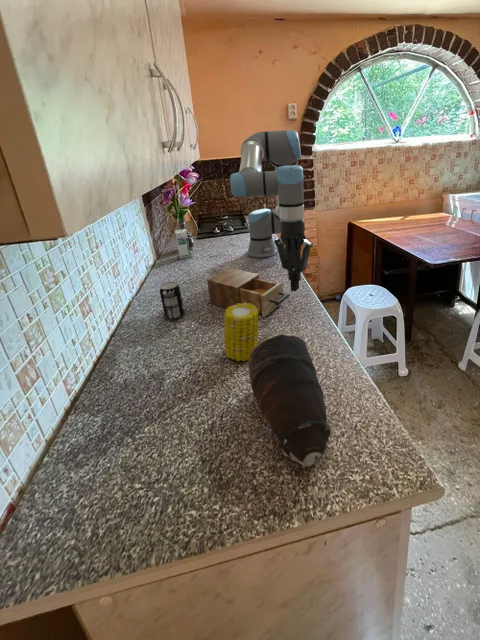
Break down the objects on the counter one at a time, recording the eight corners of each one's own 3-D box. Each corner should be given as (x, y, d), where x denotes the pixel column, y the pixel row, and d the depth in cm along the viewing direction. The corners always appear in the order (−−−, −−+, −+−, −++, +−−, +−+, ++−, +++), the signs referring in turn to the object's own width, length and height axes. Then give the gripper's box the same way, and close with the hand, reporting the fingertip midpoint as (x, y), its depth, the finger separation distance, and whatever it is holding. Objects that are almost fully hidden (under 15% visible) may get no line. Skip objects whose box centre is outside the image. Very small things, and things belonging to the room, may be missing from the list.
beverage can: (176, 309, 114) (170, 279, 110) (188, 313, 111) (183, 283, 107) (161, 317, 109) (154, 287, 105) (174, 322, 106) (167, 291, 102)
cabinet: (260, 297, 120) (258, 274, 117) (239, 312, 110) (237, 287, 107) (232, 289, 128) (229, 267, 124) (210, 302, 118) (206, 279, 114)
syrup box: (179, 259, 165) (175, 232, 160) (179, 255, 170) (174, 230, 165) (191, 257, 166) (186, 231, 161) (190, 253, 172) (185, 228, 167)
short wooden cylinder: (258, 296, 117) (257, 287, 116) (272, 299, 113) (271, 291, 112) (247, 303, 112) (246, 294, 110) (261, 307, 108) (261, 298, 107)
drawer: (293, 304, 112) (292, 285, 109) (275, 319, 103) (274, 299, 100) (254, 294, 121) (252, 275, 118) (235, 307, 112) (232, 288, 109)
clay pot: (276, 451, 48) (248, 336, 68) (266, 499, 55) (243, 382, 76) (360, 431, 52) (310, 329, 73) (341, 479, 60) (300, 373, 80)
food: (223, 352, 92) (257, 346, 95) (228, 370, 81) (266, 362, 84) (218, 302, 90) (252, 297, 93) (222, 314, 79) (261, 307, 82)
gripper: (317, 218, 93) (318, 288, 101) (280, 214, 99) (284, 281, 108) (304, 224, 87) (307, 298, 95) (267, 220, 94) (272, 290, 102)
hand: (295, 289), depth 101 cm, fingers closed
